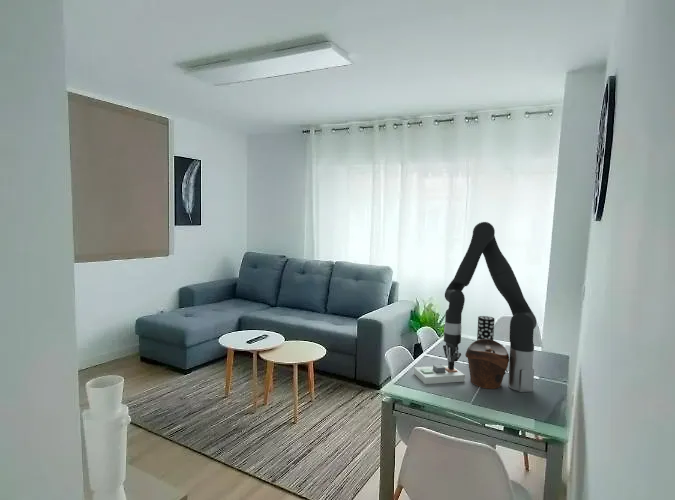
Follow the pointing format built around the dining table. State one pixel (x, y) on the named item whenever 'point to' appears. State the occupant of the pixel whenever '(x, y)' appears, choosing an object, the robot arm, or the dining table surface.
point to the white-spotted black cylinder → (485, 328)
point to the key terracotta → (450, 370)
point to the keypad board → (439, 376)
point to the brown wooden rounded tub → (487, 363)
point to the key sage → (426, 371)
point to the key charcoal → (438, 368)
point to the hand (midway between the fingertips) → (450, 368)
